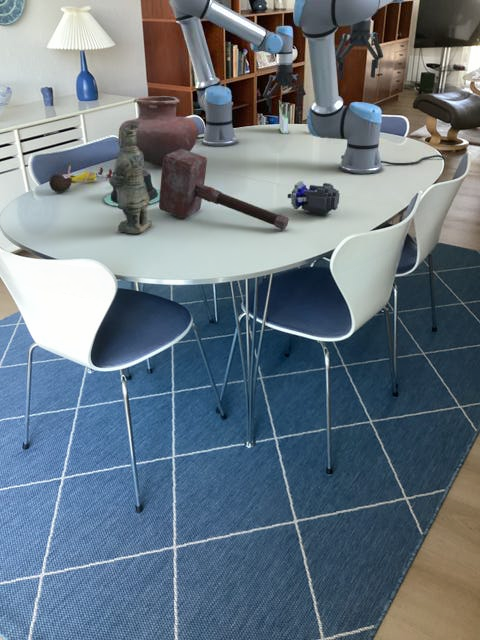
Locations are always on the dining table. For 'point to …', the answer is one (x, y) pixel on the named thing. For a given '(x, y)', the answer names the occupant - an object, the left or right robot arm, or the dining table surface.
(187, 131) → the clay pot
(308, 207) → the toy
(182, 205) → the sledgehammer
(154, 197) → the chocolate cake
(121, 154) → the statue
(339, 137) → the right robot arm
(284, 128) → the ink box
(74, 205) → the dining table surface
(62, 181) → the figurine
